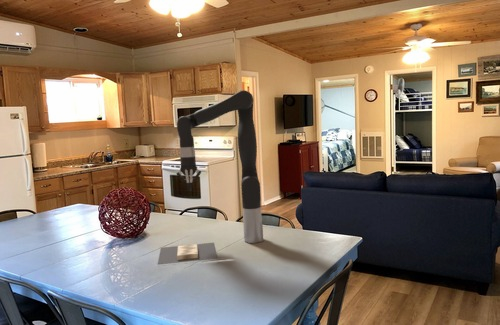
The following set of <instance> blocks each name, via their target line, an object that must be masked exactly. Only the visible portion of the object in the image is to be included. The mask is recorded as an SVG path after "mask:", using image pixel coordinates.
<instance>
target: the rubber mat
mask: <svg viewBox="0 0 500 325" xmlns="http://www.w3.org/2000/svg"><path fill="white" fill-rule="evenodd" d="M196 244H197V250H198V258H192V259H182V260H178V259H177V252H178V246H179V245H175V246H164V247H160V251H159V255H158V258H157V259H158V261H157V263H156V264H157V265H158V266H160V265H163V267H164V266H167V265H166V264H173V265H175V266H176V264H177V263H178V264H179V263H183V264H186V263H188V262H192V264H193V263H195V262H196V261H202V263H203V262H204V261H205V260H207V261H208V260H211V261H213V262H214V260H215V259H218V254H217V250H216V245H215V242H207V243H196ZM182 246H184V245H182Z"/></svg>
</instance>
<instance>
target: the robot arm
mask: <svg viewBox="0 0 500 325" xmlns="http://www.w3.org/2000/svg"><path fill="white" fill-rule="evenodd" d="M234 111H237V115H238V116H237V117H238V126H237V127H238V128H237V148H238V154H239V159H240V164H241V184H240V185H241V202H242V203H241V205H242V222H243V240H244V242H245V243H249V244H255V243H256V244H257V243H261V242H264V225H263V222H262V221H263V220H262V204H261V203H262V198H261V182H260V180H259V176H258V170H257V154H258V151H257V150H258V149H257V148H258V146H257V145H258V144H257V135H256V134H257V133H256V127H255V122H254V96H253V94H252V93H251V92H249V91H248V90H245V89H242V90H239V91H237V92H236V93H234V94H233V95H231V96H230V97H228V98H225V99H224V100H221V101H220V102H217V103H214V104H211V105H208V106H206V107H204V108H201V109H199V110H196V111H195V112H194V113H191V114H188V115H183V116H180V117H179V118H178V119H177V122H176V129H177V133H178V137H179V156H180V168H179V171H177V172H176V176H178V177H179V179H180V180H181V181H182V182H183V183H186V189H187V190H188V191H192V190H193V186H194V185H193V183H194V182H196V181H197V180H198V178H199V177H200V175H201V173H202V170H200V169H198V167H197V161H196V160H197V159H196V150H195V142H194V140H195V139H194V135H192V129H195V128H196V127H198V126H200V125H204V124H206V123H209V122H211V121H213V120H215V119H217V118H220V117H221V116H223V115H226V114H228V113H231V112H234ZM195 174H196V175H195ZM194 175H195V176H194ZM184 176H185V177H184ZM193 176H194V178H193Z"/></svg>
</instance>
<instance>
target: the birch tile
mask: <svg viewBox="0 0 500 325" xmlns="http://www.w3.org/2000/svg"><path fill="white" fill-rule="evenodd" d="M197 244H198V243H196V244H195V243H194V244H185V245H184V246H183V245H177V246H178V252H177V259H178V260H182V259H192V258H198V250H197Z"/></svg>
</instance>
